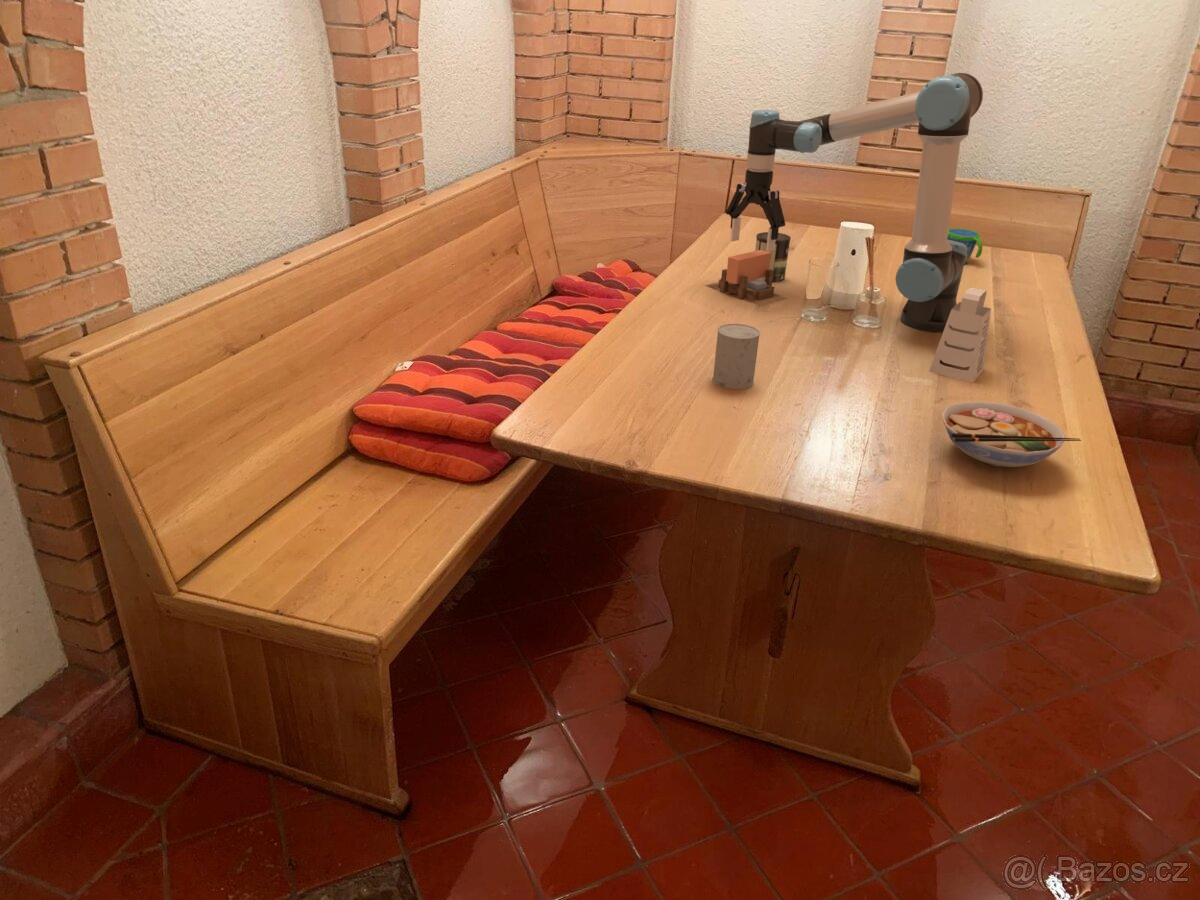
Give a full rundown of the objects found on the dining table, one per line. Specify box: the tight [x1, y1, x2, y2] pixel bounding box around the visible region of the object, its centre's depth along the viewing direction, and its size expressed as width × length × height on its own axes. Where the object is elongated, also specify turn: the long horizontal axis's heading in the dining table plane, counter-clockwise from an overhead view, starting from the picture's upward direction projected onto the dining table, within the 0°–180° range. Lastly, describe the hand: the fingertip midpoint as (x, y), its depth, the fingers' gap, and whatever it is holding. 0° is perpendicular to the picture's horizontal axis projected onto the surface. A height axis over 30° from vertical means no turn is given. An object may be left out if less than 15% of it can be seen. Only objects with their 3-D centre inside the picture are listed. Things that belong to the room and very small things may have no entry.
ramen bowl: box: [941, 400, 1082, 468], centre depth 180 cm, size 25×23×8 cm
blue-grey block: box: [747, 279, 767, 291], centre depth 267 cm, size 12×4×4 cm, turn 39°
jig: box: [704, 268, 788, 306], centre depth 267 cm, size 22×13×8 cm, turn 39°
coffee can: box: [754, 231, 792, 283], centre depth 279 cm, size 10×10×14 cm
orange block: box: [726, 250, 771, 284], centre depth 264 cm, size 4×14×7 cm, turn 130°
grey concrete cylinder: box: [712, 323, 761, 390], centre depth 209 cm, size 10×10×12 cm
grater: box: [928, 287, 992, 383], centre depth 218 cm, size 10×10×20 cm
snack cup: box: [947, 228, 983, 265], centre depth 308 cm, size 16×10×10 cm
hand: (752, 245), depth 261 cm, fingers open, 13 cm apart
